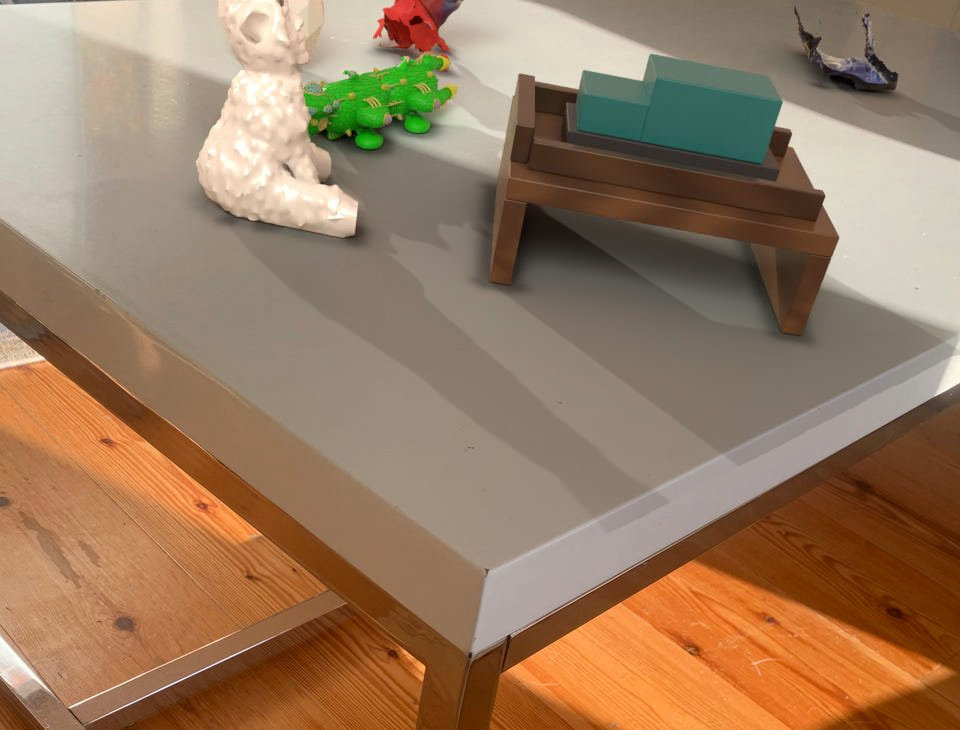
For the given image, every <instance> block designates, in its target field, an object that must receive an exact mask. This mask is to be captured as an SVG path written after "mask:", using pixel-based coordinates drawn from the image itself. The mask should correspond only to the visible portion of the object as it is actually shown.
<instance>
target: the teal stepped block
mask: <svg viewBox="0 0 960 730" xmlns="http://www.w3.org/2000/svg"><path fill="white" fill-rule="evenodd" d="M581 72H582V73H581V77H580V81H579V86H578V89H579V90H578V95H577V99H576V104H574V103H569V102H567V103H566V107H565V112H564V117H563V122H562V126H561V129H562V142H564V143H569V144H574V145H580V146H585V147H591V148H596V149H601V150H607V151H612V152H618V153H623V154H629V155H634V156H639V157H645V158H650V159H656V160H661V161H667V162H672V163H677V164H683V165H688V166H694V167H699V168H704V169H710V170H715V171H721V172H726V173H732V174H737V175H742V176H748V177H753V178H759V179H764V180H769V181H775V182H776V181H777V178H778V175H779V172H780V168H779V166H778V164H777V162H776V160H775V158H774V156H773V154H772V152H771V150H770V147H769V143H770V140H771V137H772V133H773V130H774V127H775V126H776V125H777V121H778V118H779V115H780V112H781V110H782V106H783V103H784V101H783V99H782V97H781V95H780V93H779V92H778V90H777V88H776V86H775V85H774V82H773V81H772V79H771V78H770V76H769V75H766V74H765V75H764V74H759V73H754V72H750V71H743V70H739V69H733V68H728V67H722V66H717V65H712V64H708V63H707V64H706V63H702V62H696V61H691V60H686V59H682V58H676V57H670V56H665V55H660V54H655V53H649V55H648V59H647V63H646V66H645V71H644V75H643V78H642V80H640V79H634V78H629V77H623V76H620V75H619V76H618V75H613V74H608V73H603V72H597V71H591V70H587V69H583V70H582V71H581Z"/></svg>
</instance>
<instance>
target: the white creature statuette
mask: <svg viewBox="0 0 960 730" xmlns="http://www.w3.org/2000/svg"><path fill="white" fill-rule="evenodd" d="M225 8H226V12H227V16H226V19H225V26H226V30H227V34H228V37H229V39H230V40H229V39H228V40H229V44H230V47H231V48H232V50H233V51H234V53H235V56H236V61H238V63H239V64H240V65H241V66H242V67H243V69H241V70H240V71H239V72H238V73H237V75H236V76H235V77H234V78H233V79H232V80H231V86H230V87H229V88H228V90H227V99H226V101H225V102H224V103H223V107H222V108H221V111H220V112H221V113H220V114H221V115H220V118H219V119H218V120H216V123H215V124H214V125H213V126H212V127H211V129H210V130H209V133H208V136H207V137H206V139H204V141H203V142H204V143H203V146H202V148H201V149H200V151H198V155H199V156H198V158H196V160H195V162H194V163H195V165H196V168H197V169H196V172H197V173H198V183H199V184H200V185H201V186H202V188H203V189H204V193H205V195H206V196H207V197H208V198H209V199H210V201H213V202H215V203H216V204H218V205H219V206H220V207H221V208H222V209H223V210H224V211H225V212H229V213H230V214H231V215H233V216H235V217H236V218H245V219H248V220H249V221H252V222H253V221H254V222H255V221H260V222H264V223H268V224H272V225H276V226H283V227H287V228H293V229H297V230H302V231H308V232H312V233H316V234H317V233H318V234H321V235H327V236H331V237H336V238H343V239H344V238H347V237H353V236H355V235H356V227H357V219H358V210H359V201H358V200H356V199H354V198H353V197H352V196H350V195H348V194H347V193H345V192H344V190H343V189H342V188H340V186H339V185H338V184H333V185H328V184H324V183H325V182H326V181H327V180H328V178H329V177H330V175H331V172H332V171H331V170H332V158H331V155H330V153H329V151H327V150H325V149H323V148H321V147H319V146H317V145H316V144H315V143H314V142H311V143H310V141H312V139H311V137H310V138H309V136H308V125H309V123H310V122H311V115H310V114H309V113H308V107H306V103H305V98H304V92H303V87H304V86H303V80H302V75H301V74H300V72H299V70H298V68H297V67H299V66H301V65H307V64H308V63H309V62H310V54H309V53H308V51H307V50H306V42H305V40H304V38H305V35H304V34H303V32H302V31H301V27H302V26H303V25H304V20H303V19H302V18H301V17H300V16H299V15H298V14H296V13H295V12H293V11H292V10H291V9H290V8H289V6H288V0H230V1H227V2H226V3H225ZM228 37H227V38H228ZM322 183H323V184H322Z"/></svg>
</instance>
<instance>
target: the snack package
mask: <svg viewBox="0 0 960 730" xmlns="http://www.w3.org/2000/svg"><path fill="white" fill-rule="evenodd" d="M793 11H794V15H795V18H796V21H797V25H798V26H797V27H798V28H797V31H798V32H797V34H798V36H799V38H800V41H801V42H800V43H801V44H802V46H803V49H804V52H805V54H806V55H807V59H808V61H809V62H810V63H811V64H812V65H814V66H816V67H818V68H819V69H820V70H821V74H822V76H823V77H825V76H838V77H843V78H845V79H850V80H852V82H853V83H854V88H855V89H854V90H855V91H863V90H865V91H869V90H870V91H871V92H872V91H883V90H886V91H895V90H896V89H897V86H898V78H899V73H898V72H897V71H891V69H889V68H888V67H887V66H886V64H885V63H884V61H883V60H881V59H880V58H878V56H877V55H876V53H875V50H874V49H875V47H876V39H875V38H874V37H873V22H872V19H871V14H870V12H868V13H864V14H863V15H862V16H861V22H862V23H861V24H860V25H861V26H862V27H863V28H864V31H865V47H864V49H863V51H864V57H865V58H866V59H864V58H862V57H848V58H840V57H835V56H832V55H828V54H826V53H824V52H823V51H822V50H821V49H819V48H818V46H819V44H820V42H821V40H822V36H818V37H817V36H814V35H813V34H811V33H810V32H809V31H805V26H804V25H803V23H802V22H801V16H800V11H797V5H794V8H793ZM854 14H858V12H857V11H855V12H854ZM838 15H841V12H839V13H838ZM818 22H819V25H822V24H823V23H822V20H821V19H819V20H818ZM815 34H816V35H819V32H815ZM819 84H820V85H823V84H824V83H823V82H819ZM846 89H847V90H849V87H847V88H846Z"/></svg>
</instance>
